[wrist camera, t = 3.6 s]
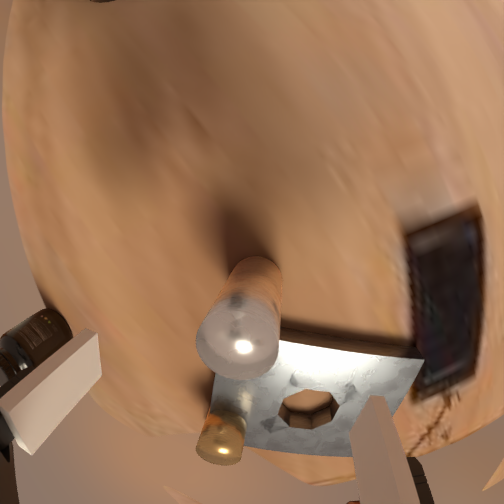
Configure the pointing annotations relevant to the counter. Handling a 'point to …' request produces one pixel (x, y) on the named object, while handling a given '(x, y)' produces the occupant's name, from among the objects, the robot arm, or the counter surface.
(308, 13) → the counter surface
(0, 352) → the supplement bottle
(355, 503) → the crank
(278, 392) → the plate
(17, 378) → the robot arm
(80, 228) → the counter surface
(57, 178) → the counter surface
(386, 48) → the counter surface
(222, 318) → the rounded peg
